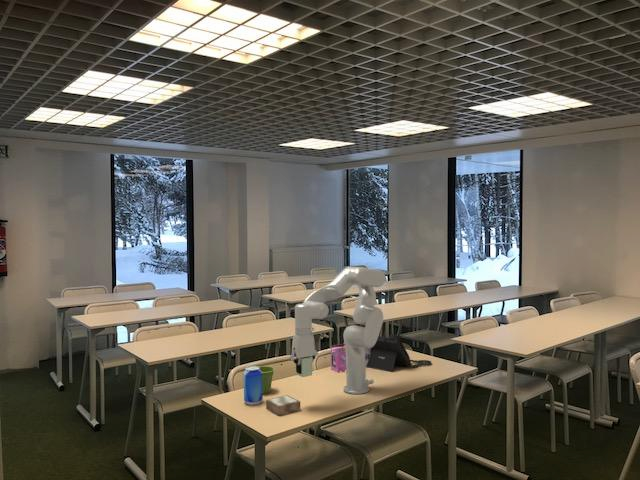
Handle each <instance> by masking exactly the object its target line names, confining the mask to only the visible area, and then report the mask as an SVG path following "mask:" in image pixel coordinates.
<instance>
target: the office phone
mask: <svg viewBox="0 0 640 480" xmlns="http://www.w3.org/2000/svg"><path fill="white" fill-rule="evenodd" d="M370 353H371V354H370V357H369V360H368V363H367V366H368V367H367V368H373V369H377V370H382V371H387V372H392V373H393V372H394V368H395V365H399V366H406V367H408V368H412V369H413V368H414V369H415V368H417V367H422V366H430V365H432V361H431V360H428V359H427V360H426V359H419V360H417V359H414V360H413V359H411V357H410V355H409V353H408V352H407V350H406V347H405V346H404V344H403V342H402V341H401V338H400V337H399V336H398V335H397V334H394V333H391V334H389V336H388V337H387V336H380V335H379V336H378V339H377V341H376V344H375V345H374V346H373V347H372V348H370ZM412 363H415V364H412Z"/></svg>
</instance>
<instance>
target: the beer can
mask: <svg viewBox="0 0 640 480" xmlns="http://www.w3.org/2000/svg"><path fill="white" fill-rule="evenodd" d="M243 400H244V402H245V404H246V405H248V406H256V405H259V404H261V403H262V401H263V400H264V399H263V394H262V372H261V370H260V367H258V366H256V365H254V366H253V365H252V366H251V365H250V366H247V367H245V369H244V372H243Z"/></svg>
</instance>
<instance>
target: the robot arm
mask: <svg viewBox="0 0 640 480" xmlns="http://www.w3.org/2000/svg"><path fill="white" fill-rule="evenodd" d="M385 282H386V275H385V273H384V271H382V270H381V269H375V268H367V267H361V266H360V267H359V266H347V267H345V268H344V269H342V270H341V271H340V272H339V273H338V274H337V275H336V276H335V278H333V279H332V280H331V282H328V284H325V285H324V286H322V287H321V288H319V289H316V290H315V291H313V292H312V293H310V295H309V296H307V298H305V300H303V302H302V303H298V304H296V305H295V306H294V328H295V329H294V334H293V336H292V341H291V342H292V343H291V354H290V355H289V359H290V360H291V361H292V362H293V363H294V364H295V372H296V374H297V373H299V374H301V365H300V363H301V358H305V357H312V364H313V363H314V360H315V359H316V357H318V355H319V352H318V351H317V350H316V343H315V338H314V337H315V336H314V334H313V331H315V328H314V327H313V325H312V324H313V321H312V320H323V319H324V318H326V317H328V315H329V311H330V309H329V307H328V305H327V304H326V303H327V302H330V301H334V300H337V299H341V298H342V297H343V296H344V295H345V294H346V293H347V292H348V291H349V290H350V288H352V286H354V285H357V288H358V293H359V294H358V299H357V302H356V304H355V308H354V310H353V313H352V320H353V321H354V322H355V323H356V324H359V325H354V324H353V325H349V326H347V327H345V329H344V331H343V344H345V348H346V371H345V372H346V373H345V374H346V375H345V376H346V377H345V378H346V385H345V386H344V387H343V391H344V392H345V393H347V394H353V395H360V394H365V393H368V392H369V391H370V386H369V385H372V384H374V383H375V382H374V379H370V380H369V379H367V372H366V371H367V370H366V369H367V367H366V357H365V350H364V348H372V347H373V346H374V345H375V344H376V341H377V339H378V336H380V332H381V330H382V326H383V323H384V313H383V310H382V309H381V308H380V307H378V306H375V304H376V298H377V293H376V291H375V288H381V287H382V286H384V284H385ZM360 325H364V326H360Z"/></svg>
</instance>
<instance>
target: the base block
mask: <svg viewBox="0 0 640 480" xmlns="http://www.w3.org/2000/svg"><path fill="white" fill-rule="evenodd" d="M265 406H266V407H265V409H266V410H267V411H269V412H271V413H272V414H274V415H276V416H278V417H280V416H285V415H288V414H292V413H295V412H299V411H301V401H300V400H298V399H296V398H295V397H292V396H290V395H288V394H285V395H282V396H278V397H274V398H270V399H266V400H265Z"/></svg>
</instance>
